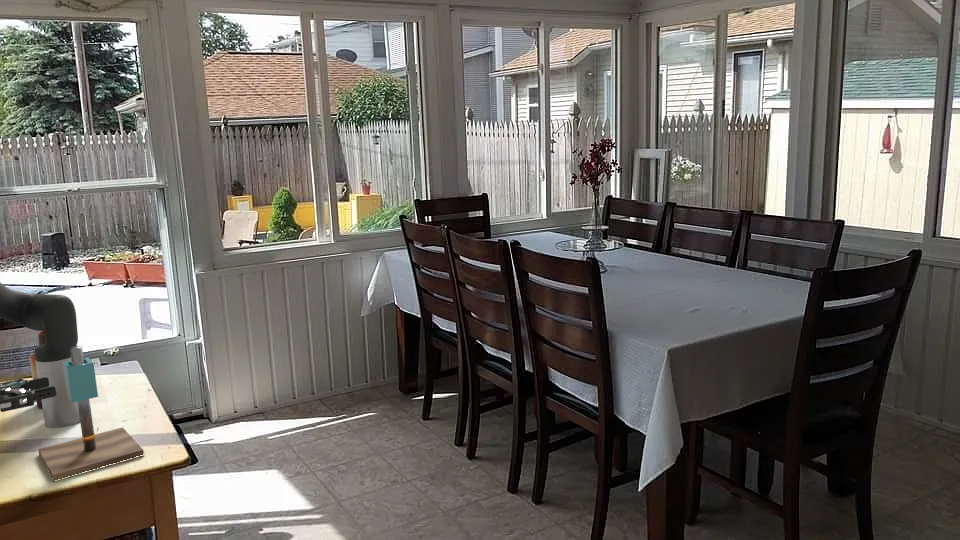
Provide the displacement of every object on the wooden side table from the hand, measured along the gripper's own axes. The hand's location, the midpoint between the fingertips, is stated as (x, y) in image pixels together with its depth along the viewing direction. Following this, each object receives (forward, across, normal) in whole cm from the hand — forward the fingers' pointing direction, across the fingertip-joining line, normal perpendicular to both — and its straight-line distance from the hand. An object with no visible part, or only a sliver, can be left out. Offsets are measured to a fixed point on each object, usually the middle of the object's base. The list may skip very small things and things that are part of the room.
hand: (52, 386), depth 160 cm
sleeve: (+6, 0, +4) cm, 7 cm away
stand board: (+6, 0, +18) cm, 19 cm away
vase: (+7, +46, +18) cm, 50 cm away
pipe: (+6, 0, +16) cm, 17 cm away
